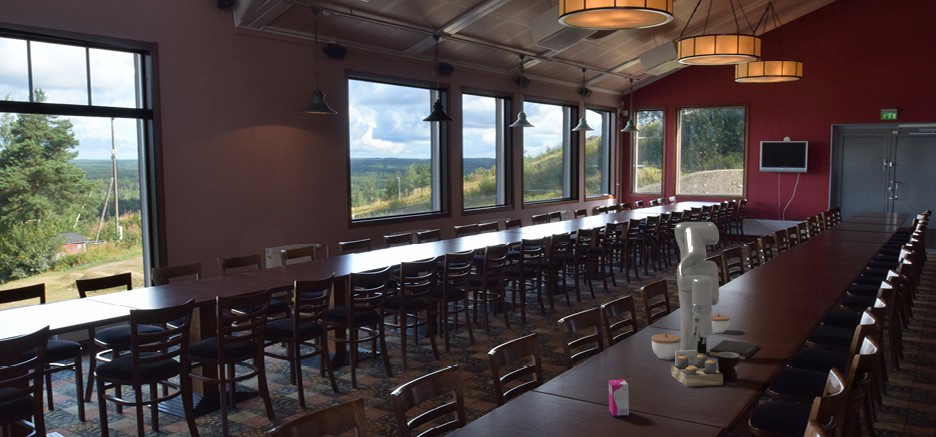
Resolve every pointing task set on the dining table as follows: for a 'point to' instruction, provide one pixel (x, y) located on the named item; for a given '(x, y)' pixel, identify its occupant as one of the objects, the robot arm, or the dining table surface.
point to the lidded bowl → (665, 345)
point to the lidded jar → (720, 323)
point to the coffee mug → (728, 365)
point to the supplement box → (618, 398)
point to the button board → (696, 377)
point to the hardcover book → (735, 348)
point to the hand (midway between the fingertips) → (701, 352)
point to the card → (690, 354)
